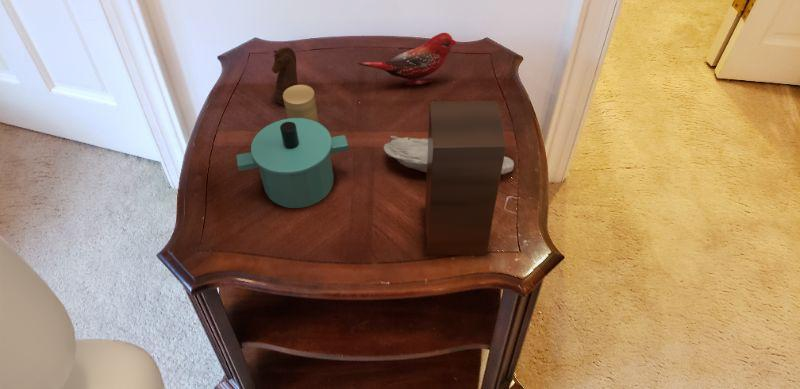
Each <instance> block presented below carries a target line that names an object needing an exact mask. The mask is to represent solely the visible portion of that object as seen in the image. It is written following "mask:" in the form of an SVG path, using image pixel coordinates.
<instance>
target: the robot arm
mask: <svg viewBox="0 0 800 389" xmlns="http://www.w3.org/2000/svg"><path fill="white" fill-rule="evenodd" d="M73 324H74V323H73V322H72V319H71V317H70V315H69V313H68V310H67V308H66V307H65V305H64V304H63V303H62V301H61V300H60V298H59V297H58V296H57V294H56V292H54V290H53V289H52V288H51V287H50V285H49V284H48V283H47V282H46V281H45V279H44V278H42V277H41V275H40V274H39V273H38V272H37V271H36V270H35V269H34V268H33V267H32V266H31V265H30V264H29V263H28V262H27V261H26V260H25V259H24V258H23V256H22V255H20V254H19V252H18V251H17V250H16V249H15V248H14V247H13V246H12V244H10V243H9V242H8V241H7V240H6V239H5V238H4V236H2V235H1V234H0V389H166V387H165V383H164V379H163V377H162V373H161V371H160V368H159V365H158V364H157V362H156V360H155V359H154V357H153V356H152V354H150V353H149V352H148V351H147V350H146V349H145V348H143V347H141V346H139V345H137V344H135V343H132V342H128V341H125V340H117V339H107V338H106V339H105V338H83V339H81V338H80V339H79V338H78V339H76V333H75V326H74V325H73Z"/></svg>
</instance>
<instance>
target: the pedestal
mask: <svg viewBox="0 0 800 389" xmlns="http://www.w3.org/2000/svg"><path fill="white" fill-rule="evenodd" d="M428 111H429V112H428V132H427V134H428V136H427V139H428V155H427V173H426V182H425V183H426V184H425V202H424V204H425V205H424V216H425V217H424V218H425V234H426V235H425V236H426V252H427V253H426V255H427V256H486V255H487V252H488V246H489V241H490V237H491V236H490V235H491V230H492V225H493V218H494V214H495V209H496V204H497V199H498V198H497V197H498V194H499V189H500V188H499V187H500V182H501V176H502V174H501V172H502V166H503V161H504V156H505V157H506V149H507V144H506V139H505V135H504V134H505V133H504V130H503V125H502V124H503V123H502V120H501V114H500V110H499V105H498V101H497V100H477V101H475V100H472V101H471V100H470V101H468V100H467V101H466V100H465V101H429V110H428Z"/></svg>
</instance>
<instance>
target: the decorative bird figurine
mask: <svg viewBox="0 0 800 389" xmlns="http://www.w3.org/2000/svg"><path fill="white" fill-rule="evenodd" d="M456 44H458V42H457V41H456V40H454V39H453V36H451V34H450V33H448V32H440V33H439V34H436V35H434V36H432V37H431V38H430V39H429V40H427V41H426V42H425V43H424V44H422V45H419V46H418V47H416V48H411V49H409V50H406V51H403V52H402V53H399V54H397V55H394V56H393V57H391V58H389V59H387V60H386V61H367V62H366V61H363V62H357V63H356V64H357V65H359V66H363V67H367V68H368V67H369V68H374V69H380V70H382V71H384V72H386V73H388V74H389V75H391V76H393V77H397V78H402V79H406V80H407V81H408V82H407V83H405V86H407V85H409V86H415V85H424V84H426V83H430V82H433V81H434V80H432V79H431V80H430V79H429V80H423V79H422V78H426V77H428V76H430V75H432V74H434V73H435V72H436V71H438V70H439V69H440V68H441V67H442V65H443V64H444V62H445V61H446V59H447V57H448V55H449V54H450V52H451V50H452V47H453V46H454V45H456ZM419 79H420V80H419ZM421 79H422V80H421Z"/></svg>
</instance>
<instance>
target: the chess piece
mask: <svg viewBox="0 0 800 389" xmlns="http://www.w3.org/2000/svg"><path fill="white" fill-rule="evenodd" d="M273 52H274V54H273V55H272V57H274V62H273V65H272V67H271V71H272V73H274V74H277V77H276V82H275V92H274V93H275V95H274V96H275V100H276V102H277V104H279V105H282V106H284V107H285V105H284V100H283V93H284V91H285V90H286V89H288V88H289V87H291V86H295V85H299V84H298V74H297V56H296V52H295V51H294V50H293V49H292V48H290V47H288V46H284V47H281V48H278V49H277V50H273Z"/></svg>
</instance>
